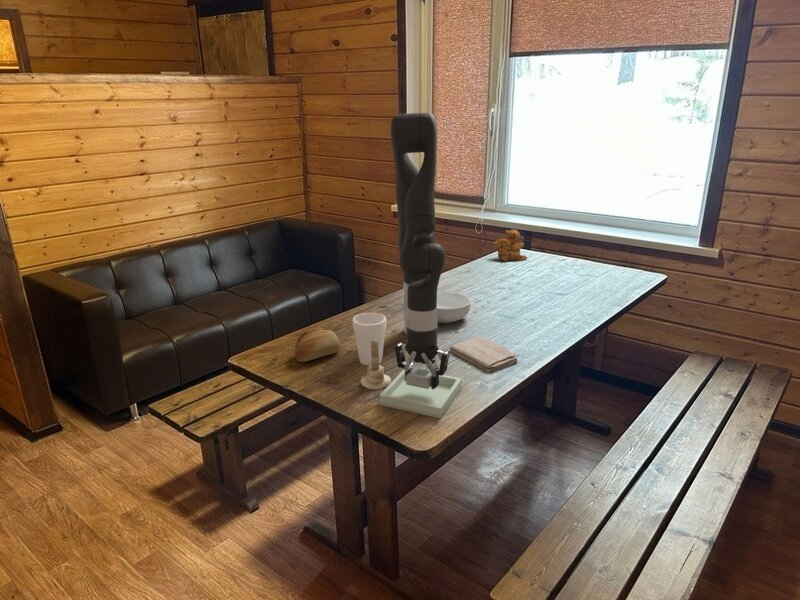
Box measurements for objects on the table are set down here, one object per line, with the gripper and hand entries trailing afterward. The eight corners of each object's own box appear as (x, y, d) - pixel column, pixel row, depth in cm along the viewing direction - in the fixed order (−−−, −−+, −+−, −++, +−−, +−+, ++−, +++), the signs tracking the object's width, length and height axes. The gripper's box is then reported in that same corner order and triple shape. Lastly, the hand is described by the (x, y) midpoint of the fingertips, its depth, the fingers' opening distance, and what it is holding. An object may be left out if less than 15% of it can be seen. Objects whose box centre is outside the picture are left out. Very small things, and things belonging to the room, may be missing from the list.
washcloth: (490, 375, 159) (490, 365, 158) (447, 352, 172) (447, 343, 171) (520, 363, 166) (521, 353, 164) (476, 342, 179) (477, 333, 178)
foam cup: (347, 360, 167) (345, 318, 162) (371, 350, 173) (370, 310, 168) (369, 371, 161) (368, 328, 156) (393, 360, 167) (393, 318, 162)
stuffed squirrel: (528, 259, 260) (530, 230, 255) (504, 264, 253) (505, 235, 249) (513, 254, 268) (515, 226, 263) (489, 259, 261) (491, 230, 257)
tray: (405, 376, 157) (405, 367, 157) (461, 387, 151) (462, 378, 150) (379, 404, 144) (379, 395, 143) (440, 418, 138) (440, 408, 137)
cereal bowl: (467, 330, 186) (468, 310, 184) (416, 326, 190) (416, 306, 187) (472, 311, 202) (472, 292, 200) (424, 308, 205) (424, 289, 203)
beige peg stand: (369, 372, 160) (367, 332, 155) (395, 378, 157) (395, 337, 152) (355, 386, 153) (353, 344, 149) (382, 391, 150) (382, 349, 146)
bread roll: (286, 358, 169) (284, 333, 166) (328, 343, 178) (326, 319, 175) (305, 369, 162) (304, 343, 159) (347, 353, 172) (346, 328, 169)
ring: (415, 374, 150) (415, 365, 149) (437, 378, 147) (437, 369, 147) (406, 384, 145) (406, 375, 144) (428, 389, 142) (428, 380, 141)
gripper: (455, 322, 141) (453, 384, 147) (401, 314, 147) (401, 374, 152) (444, 334, 135) (443, 398, 140) (388, 325, 140) (389, 386, 146)
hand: (421, 385), depth 146 cm, fingers closed on ring, 6 cm apart
